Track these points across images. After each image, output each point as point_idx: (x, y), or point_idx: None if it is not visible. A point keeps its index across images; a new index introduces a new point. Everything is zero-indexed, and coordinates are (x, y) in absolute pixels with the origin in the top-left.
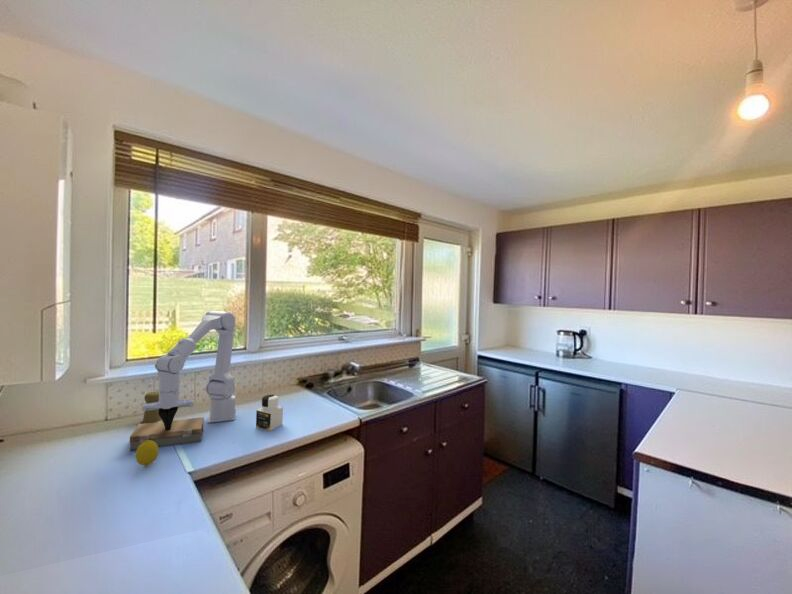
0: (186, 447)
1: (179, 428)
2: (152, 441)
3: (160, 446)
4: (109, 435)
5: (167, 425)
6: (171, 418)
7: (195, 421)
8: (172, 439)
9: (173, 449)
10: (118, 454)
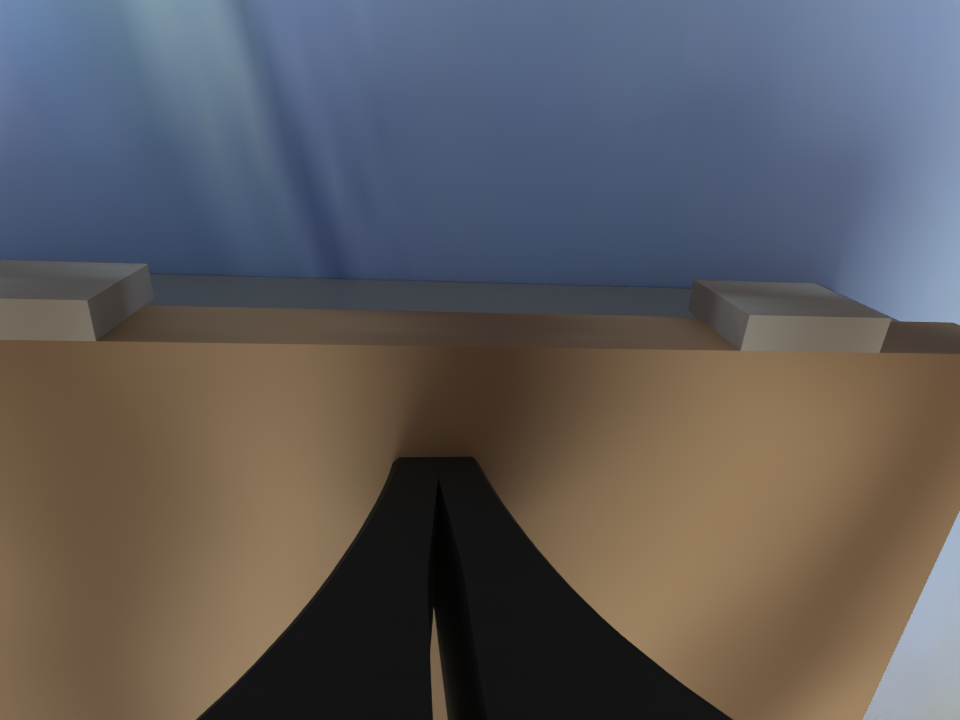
0: (126, 130)
1: (222, 472)
2: None
3: (506, 286)
4: (949, 698)
5: (444, 511)
6: (327, 637)
7: (6, 694)
8: (347, 307)
9: (315, 132)
10: (948, 249)
